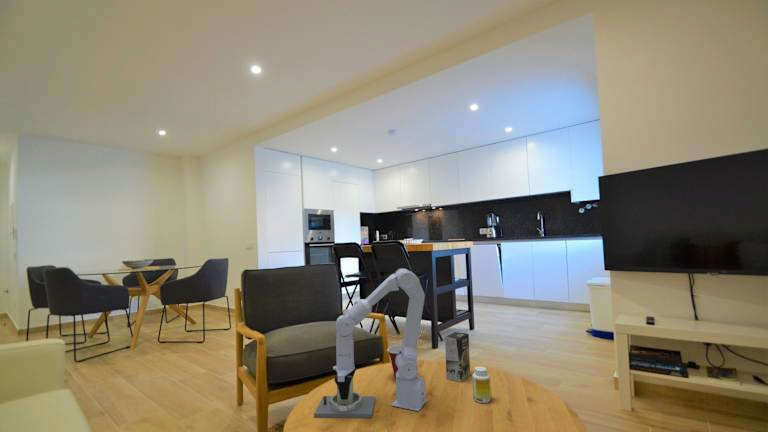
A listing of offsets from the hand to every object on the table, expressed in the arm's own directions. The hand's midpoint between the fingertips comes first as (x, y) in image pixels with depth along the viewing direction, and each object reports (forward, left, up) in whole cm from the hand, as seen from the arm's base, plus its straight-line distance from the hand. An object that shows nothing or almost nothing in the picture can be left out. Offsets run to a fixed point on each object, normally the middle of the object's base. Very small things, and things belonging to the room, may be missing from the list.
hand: (346, 395), depth 113 cm
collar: (+1, 0, -3) cm, 3 cm away
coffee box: (-27, -39, -4) cm, 48 cm away
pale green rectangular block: (0, 0, -2) cm, 3 cm away
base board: (0, 0, -4) cm, 4 cm away
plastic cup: (-7, -29, -4) cm, 30 cm away
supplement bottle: (-39, -23, -4) cm, 45 cm away
